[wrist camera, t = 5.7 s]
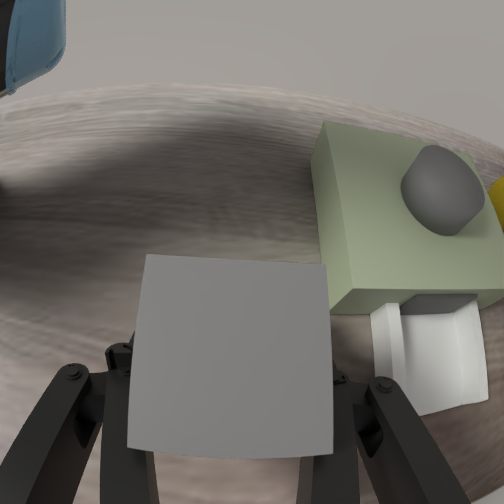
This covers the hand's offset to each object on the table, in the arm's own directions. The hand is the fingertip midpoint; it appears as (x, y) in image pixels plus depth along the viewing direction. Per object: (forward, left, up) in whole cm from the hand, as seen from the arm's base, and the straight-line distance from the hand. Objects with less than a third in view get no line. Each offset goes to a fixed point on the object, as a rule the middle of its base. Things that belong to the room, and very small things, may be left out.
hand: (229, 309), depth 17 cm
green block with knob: (0, +15, -4) cm, 16 cm away
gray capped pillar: (+4, -1, -3) cm, 5 cm away
